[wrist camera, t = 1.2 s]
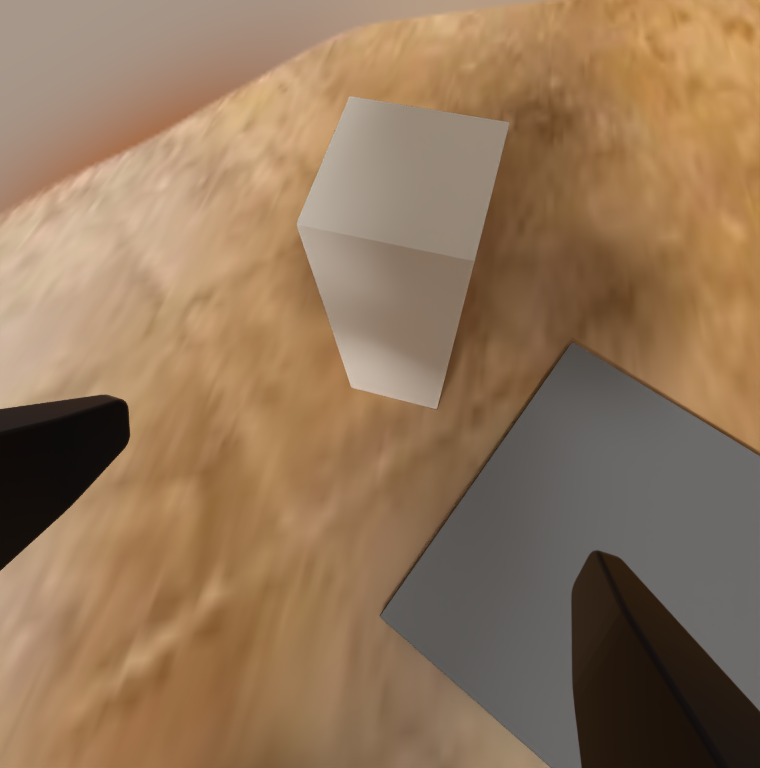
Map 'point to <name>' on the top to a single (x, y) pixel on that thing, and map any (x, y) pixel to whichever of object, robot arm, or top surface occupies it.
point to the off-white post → (399, 238)
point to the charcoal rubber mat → (586, 547)
